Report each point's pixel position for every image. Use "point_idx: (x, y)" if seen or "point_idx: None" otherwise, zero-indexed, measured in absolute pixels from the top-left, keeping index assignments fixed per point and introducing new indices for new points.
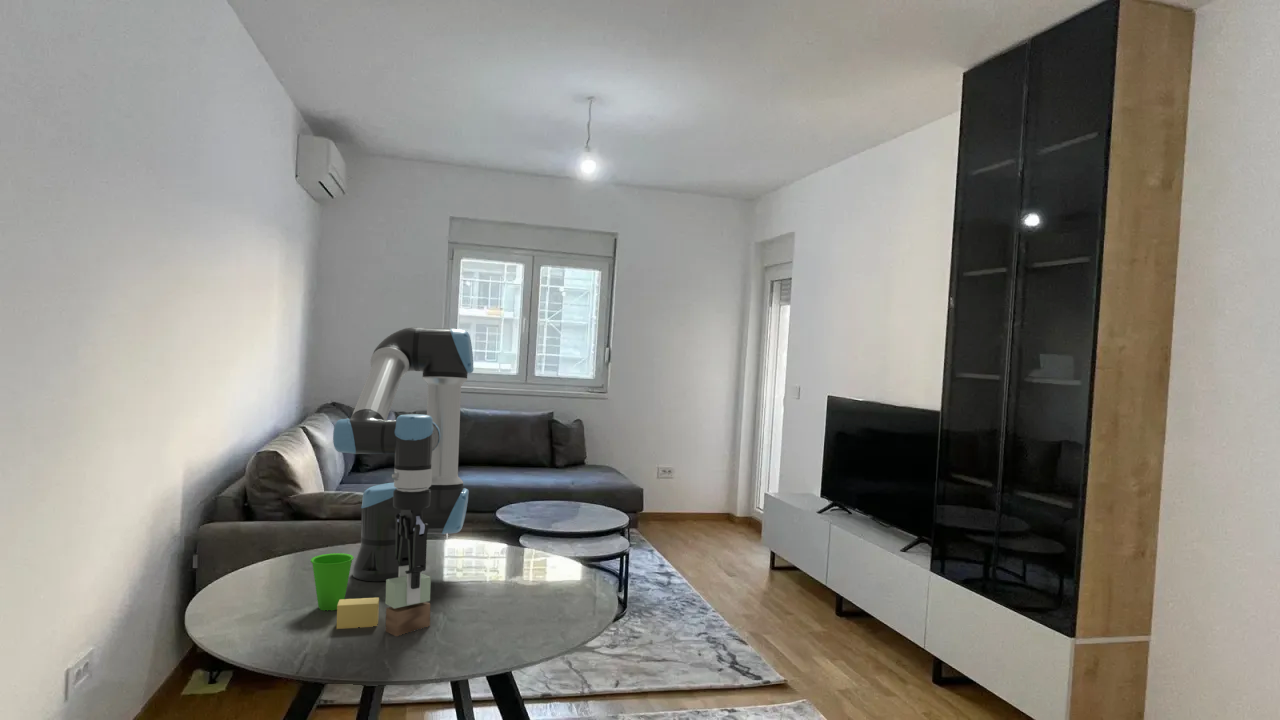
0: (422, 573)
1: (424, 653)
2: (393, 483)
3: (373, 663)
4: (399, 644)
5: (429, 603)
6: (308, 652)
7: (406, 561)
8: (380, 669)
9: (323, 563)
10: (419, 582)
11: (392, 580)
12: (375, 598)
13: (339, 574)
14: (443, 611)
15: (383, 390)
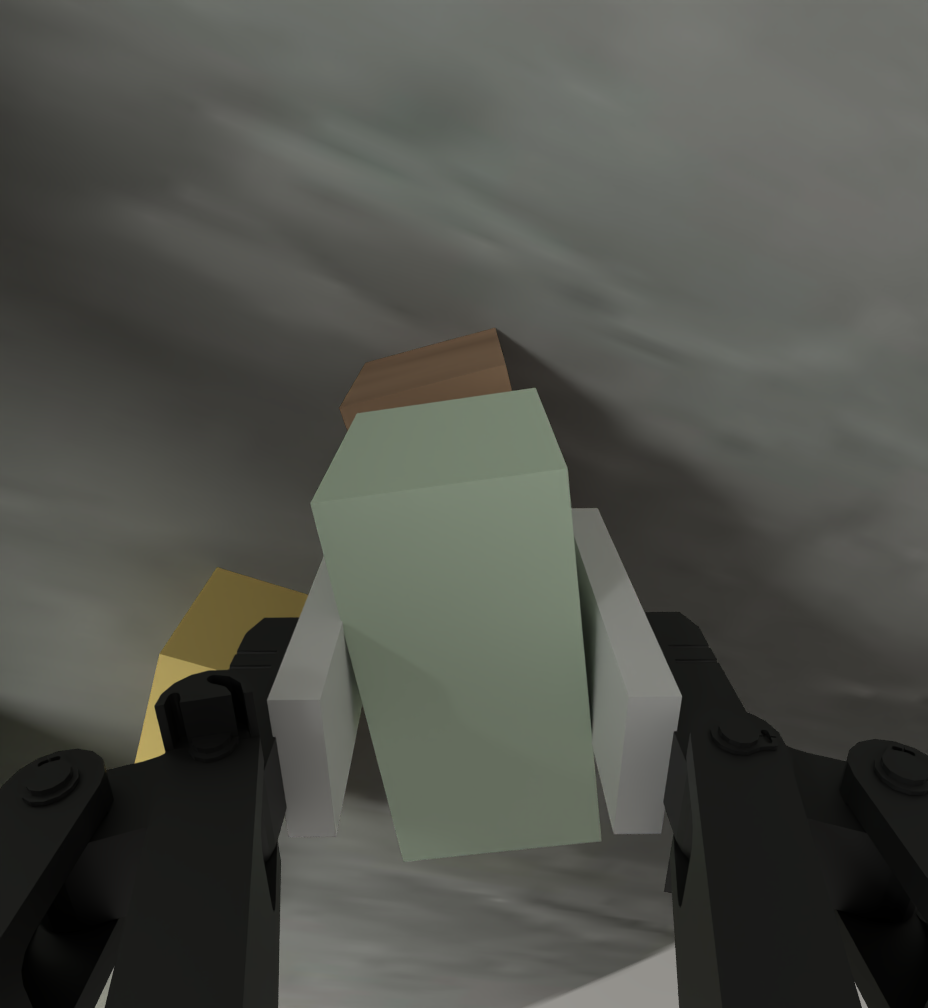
0: (335, 499)
1: (897, 510)
2: None
3: (826, 735)
4: (679, 579)
5: (499, 371)
6: (523, 893)
7: (263, 804)
8: (913, 729)
9: None
10: (710, 652)
11: (467, 830)
12: (174, 678)
13: None
14: (207, 95)
15: None
